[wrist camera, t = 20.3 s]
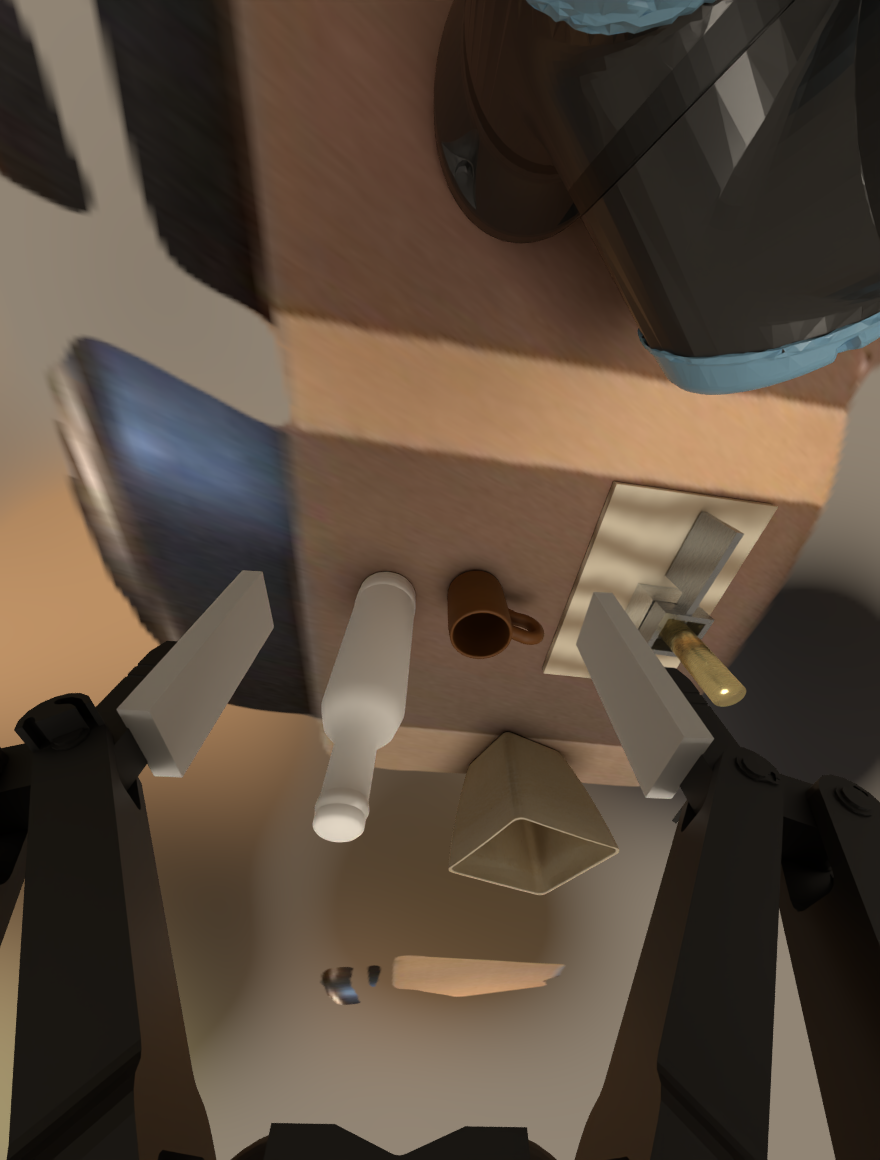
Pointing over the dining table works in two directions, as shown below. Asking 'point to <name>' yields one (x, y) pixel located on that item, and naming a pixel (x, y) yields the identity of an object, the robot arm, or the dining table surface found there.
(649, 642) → the square frame with bar
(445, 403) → the dining table surface
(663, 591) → the hinge base
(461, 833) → the flower pot
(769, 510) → the board
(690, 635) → the pin
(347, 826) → the bottle
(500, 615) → the mug
